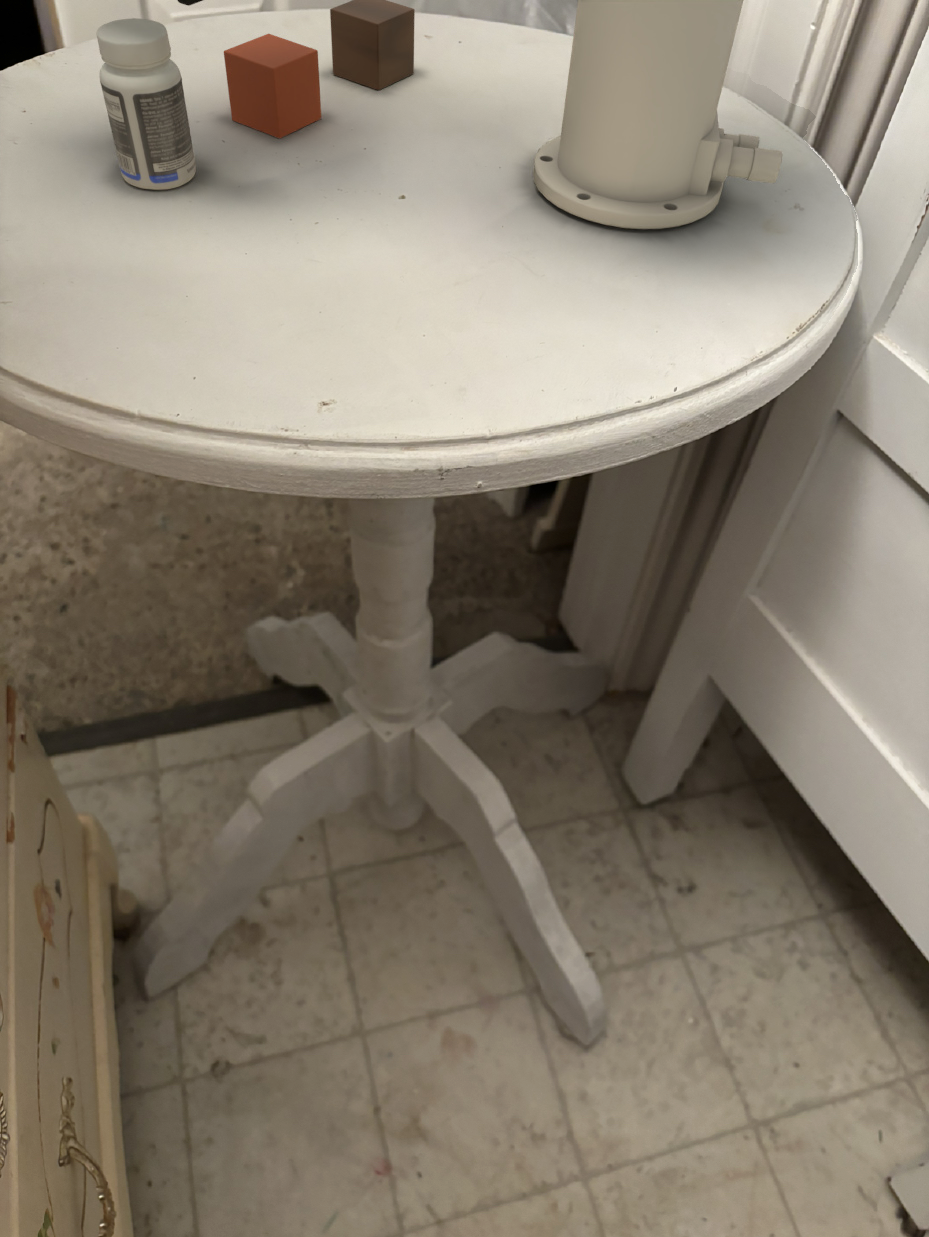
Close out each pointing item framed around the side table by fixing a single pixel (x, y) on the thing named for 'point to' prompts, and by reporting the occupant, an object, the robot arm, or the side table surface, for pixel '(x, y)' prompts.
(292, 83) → the terracotta block
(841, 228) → the side table surface
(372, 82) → the walnut block
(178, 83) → the pill bottle
